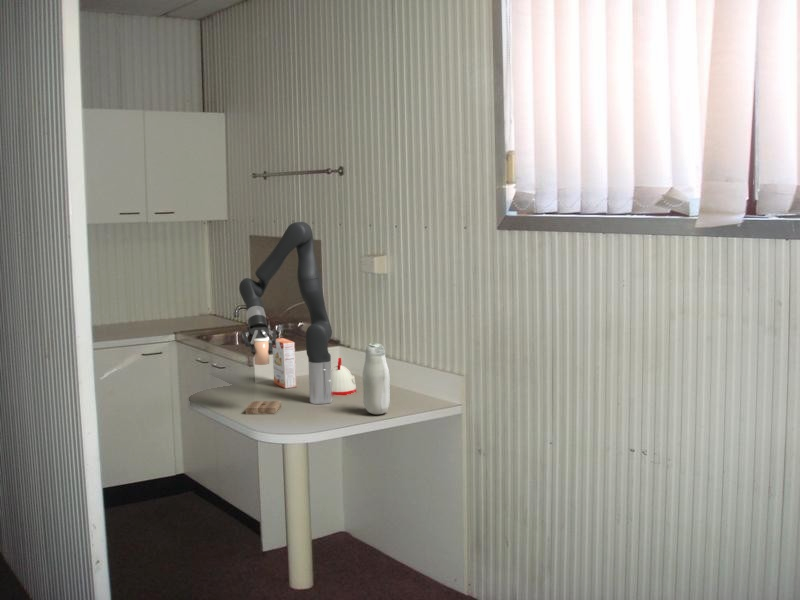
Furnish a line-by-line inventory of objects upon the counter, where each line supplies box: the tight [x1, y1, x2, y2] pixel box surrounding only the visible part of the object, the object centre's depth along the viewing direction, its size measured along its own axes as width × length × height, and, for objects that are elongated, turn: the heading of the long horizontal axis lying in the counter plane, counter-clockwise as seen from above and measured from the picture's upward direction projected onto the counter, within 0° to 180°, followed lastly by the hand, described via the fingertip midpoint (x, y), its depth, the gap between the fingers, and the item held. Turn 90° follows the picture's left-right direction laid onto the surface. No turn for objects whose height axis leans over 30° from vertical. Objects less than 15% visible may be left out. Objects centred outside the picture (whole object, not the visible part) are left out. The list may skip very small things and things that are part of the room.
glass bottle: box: [362, 342, 391, 416], centre depth 360 cm, size 10×10×28 cm
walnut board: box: [245, 400, 282, 415], centre depth 370 cm, size 12×12×2 cm
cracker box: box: [271, 337, 297, 390], centre depth 418 cm, size 14×6×21 cm, turn 28°
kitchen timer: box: [331, 357, 357, 396], centre depth 402 cm, size 14×14×15 cm
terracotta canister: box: [253, 338, 270, 366], centre depth 368 cm, size 6×6×10 cm
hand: (262, 353), depth 366 cm, fingers closed on terracotta canister, 5 cm apart
